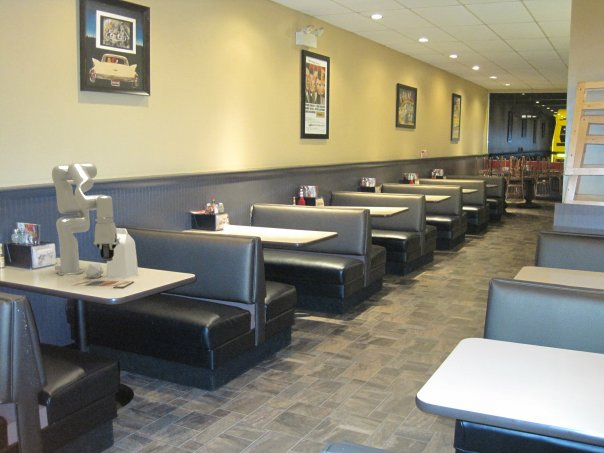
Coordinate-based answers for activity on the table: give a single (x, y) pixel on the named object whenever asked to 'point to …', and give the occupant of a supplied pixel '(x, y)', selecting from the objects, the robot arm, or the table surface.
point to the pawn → (106, 253)
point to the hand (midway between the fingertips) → (107, 256)
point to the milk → (123, 257)
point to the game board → (104, 283)
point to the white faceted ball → (94, 271)
